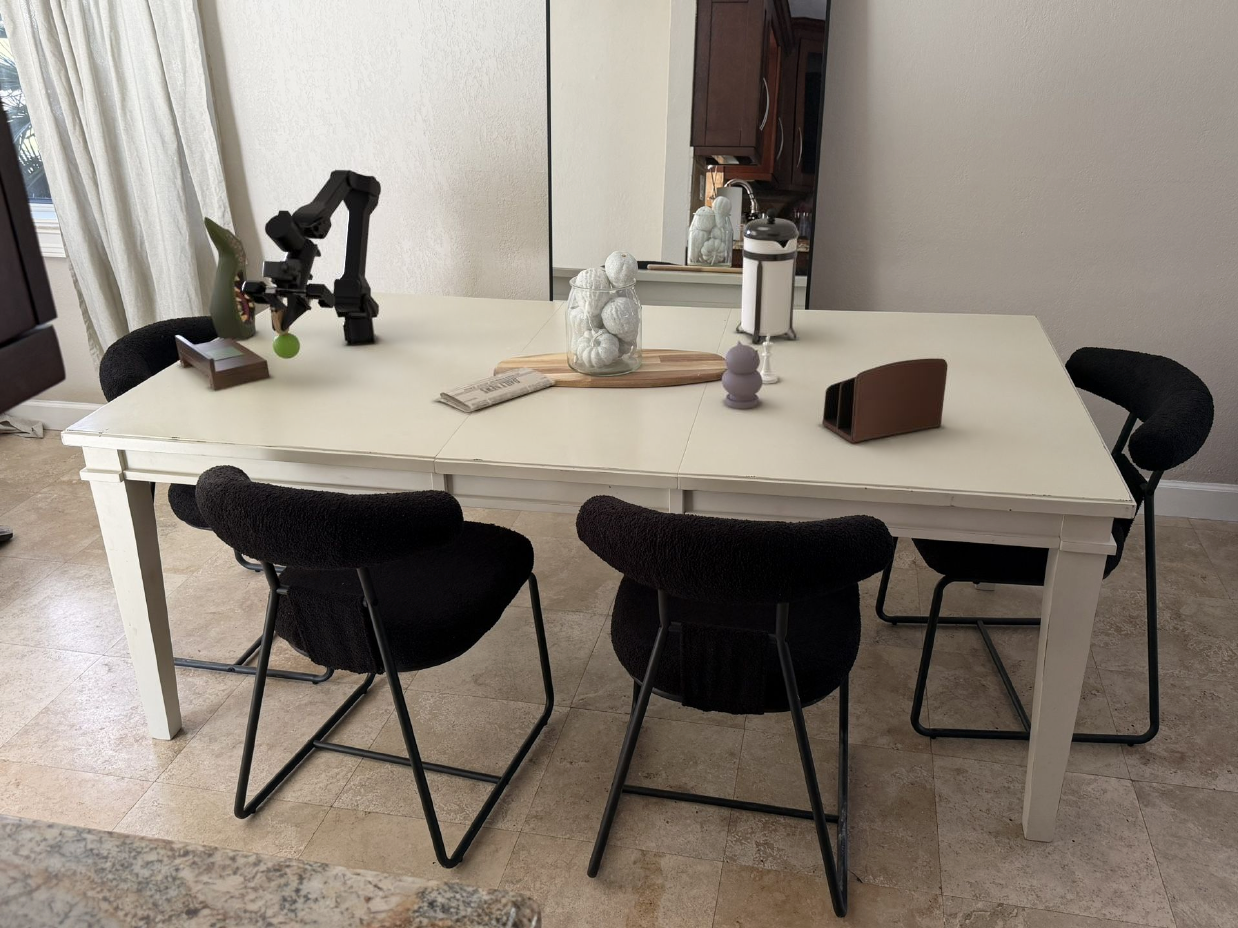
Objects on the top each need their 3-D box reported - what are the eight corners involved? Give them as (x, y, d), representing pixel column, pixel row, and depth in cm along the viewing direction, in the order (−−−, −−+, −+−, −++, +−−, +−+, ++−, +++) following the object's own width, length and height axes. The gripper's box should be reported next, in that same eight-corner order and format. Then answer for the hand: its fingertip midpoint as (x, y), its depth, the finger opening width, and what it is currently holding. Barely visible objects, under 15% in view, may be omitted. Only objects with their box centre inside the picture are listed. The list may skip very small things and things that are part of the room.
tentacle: (210, 342, 245) (186, 217, 232) (233, 327, 256) (212, 207, 243) (246, 343, 244) (224, 217, 231) (267, 328, 255) (248, 207, 242)
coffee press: (808, 331, 245) (817, 205, 233) (781, 348, 233) (788, 217, 220) (744, 320, 254) (748, 199, 241) (714, 337, 241) (717, 210, 229)
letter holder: (941, 427, 189) (950, 355, 183) (851, 444, 182) (858, 370, 176) (908, 409, 197) (916, 339, 191) (821, 425, 191) (826, 354, 185)
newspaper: (517, 372, 221) (517, 361, 220) (554, 391, 213) (555, 380, 212) (431, 398, 206) (431, 387, 205) (467, 419, 199) (467, 408, 198)
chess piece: (780, 377, 215) (783, 332, 211) (773, 385, 211) (776, 339, 207) (758, 374, 217) (760, 329, 213) (751, 381, 213) (753, 336, 209)
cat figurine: (713, 399, 204) (715, 342, 199) (747, 393, 207) (749, 336, 202) (734, 413, 197) (736, 354, 192) (769, 406, 200) (772, 348, 195)
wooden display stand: (233, 354, 236) (228, 325, 233) (269, 377, 220) (264, 347, 217) (180, 365, 229) (174, 335, 226) (214, 390, 214) (208, 359, 211)
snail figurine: (268, 363, 210) (258, 307, 205) (281, 353, 216) (272, 298, 211) (293, 364, 210) (284, 308, 205) (306, 353, 216) (296, 299, 210)
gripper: (238, 242, 208) (216, 309, 203) (320, 245, 204) (300, 314, 199) (266, 270, 219) (246, 334, 214) (344, 274, 214) (325, 339, 209)
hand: (278, 330), depth 209 cm, fingers closed on snail figurine
